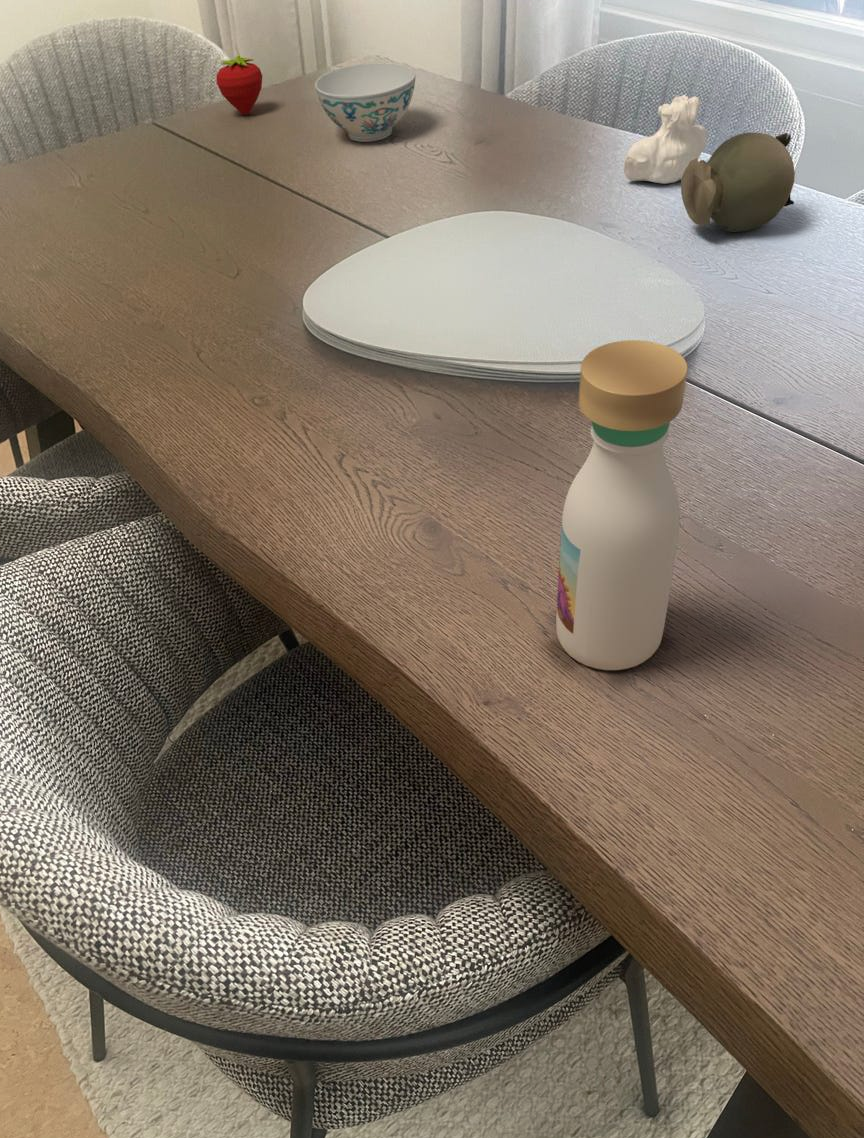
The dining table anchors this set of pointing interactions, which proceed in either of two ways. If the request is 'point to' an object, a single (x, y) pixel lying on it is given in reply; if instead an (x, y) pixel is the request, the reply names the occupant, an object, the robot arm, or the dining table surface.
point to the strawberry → (240, 83)
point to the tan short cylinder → (632, 385)
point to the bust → (668, 144)
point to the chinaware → (367, 98)
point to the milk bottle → (617, 550)
